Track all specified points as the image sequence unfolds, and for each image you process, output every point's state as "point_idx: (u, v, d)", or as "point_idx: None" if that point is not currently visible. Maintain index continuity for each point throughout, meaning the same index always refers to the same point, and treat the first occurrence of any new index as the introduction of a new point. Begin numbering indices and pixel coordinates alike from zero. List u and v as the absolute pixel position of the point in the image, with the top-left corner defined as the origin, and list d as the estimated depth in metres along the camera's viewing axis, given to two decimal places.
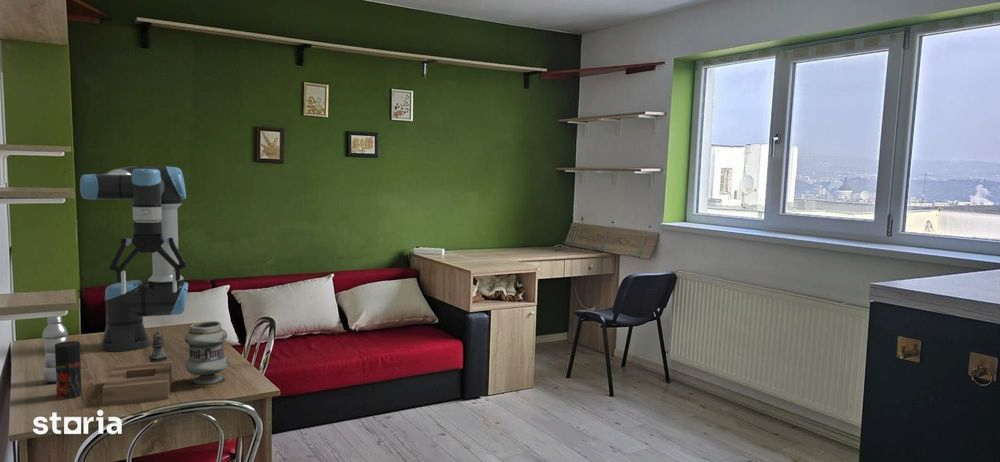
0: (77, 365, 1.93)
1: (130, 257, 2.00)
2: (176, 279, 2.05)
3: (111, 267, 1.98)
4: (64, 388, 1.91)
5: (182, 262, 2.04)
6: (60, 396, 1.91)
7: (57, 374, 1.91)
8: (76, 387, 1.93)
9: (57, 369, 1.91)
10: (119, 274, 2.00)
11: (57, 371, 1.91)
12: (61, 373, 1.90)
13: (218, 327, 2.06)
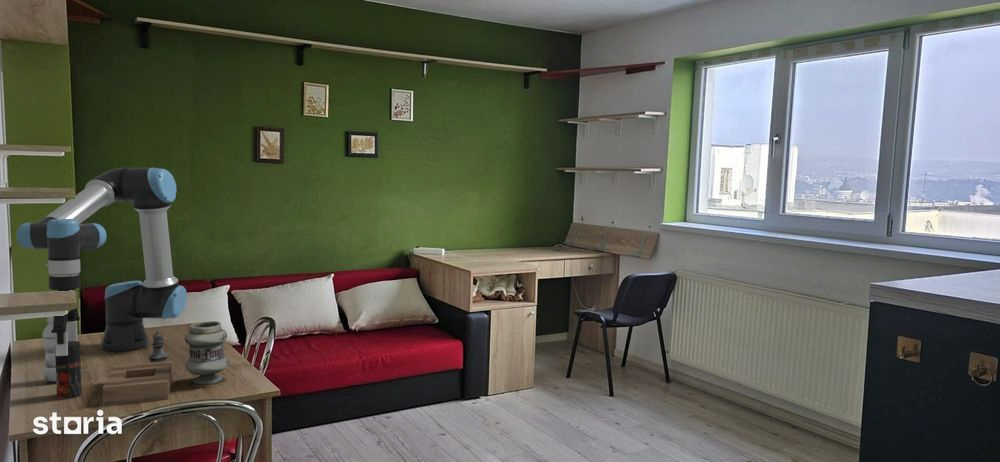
0: (77, 365, 1.93)
1: None
2: None
3: None
4: (64, 388, 1.91)
5: None
6: (60, 396, 1.91)
7: (57, 374, 1.91)
8: (76, 387, 1.93)
9: (57, 369, 1.91)
10: None
11: (57, 371, 1.91)
12: (61, 373, 1.90)
13: (218, 327, 2.06)
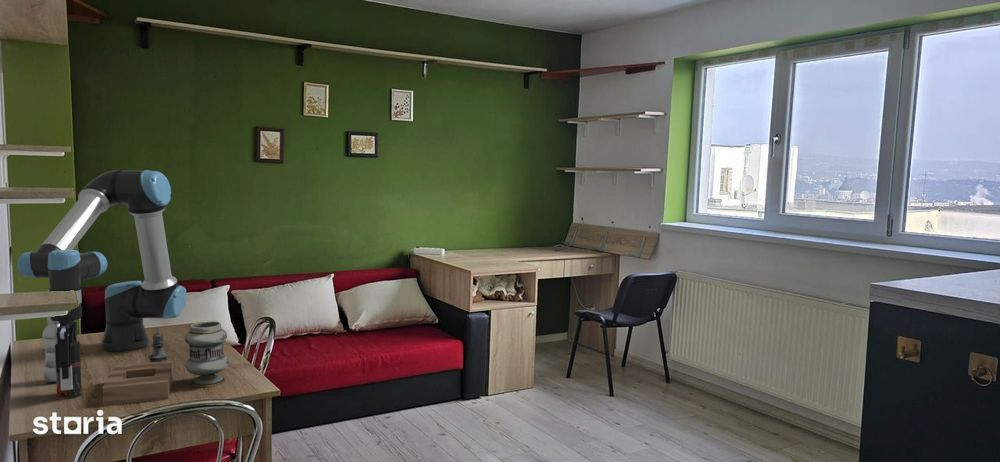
0: (77, 365, 1.93)
1: None
2: None
3: None
4: None
5: (58, 361, 1.87)
6: (60, 396, 1.91)
7: (57, 374, 1.91)
8: (76, 387, 1.93)
9: (57, 369, 1.91)
10: None
11: (57, 371, 1.91)
12: None
13: (218, 327, 2.06)
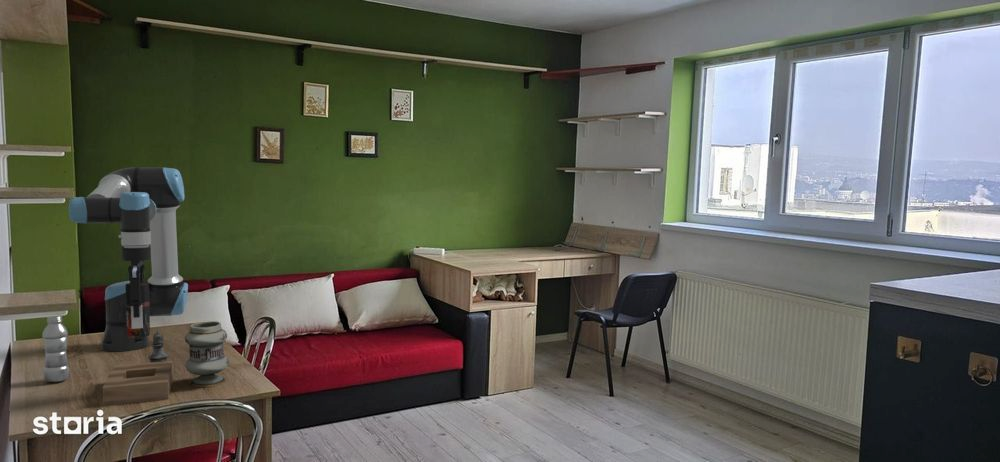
0: (147, 305, 1.97)
1: None
2: (133, 315, 1.94)
3: None
4: None
5: (130, 299, 1.91)
6: (130, 335, 1.95)
7: (128, 313, 1.95)
8: (145, 326, 1.97)
9: (128, 308, 1.95)
10: None
11: (128, 310, 1.95)
12: None
13: (218, 327, 2.06)
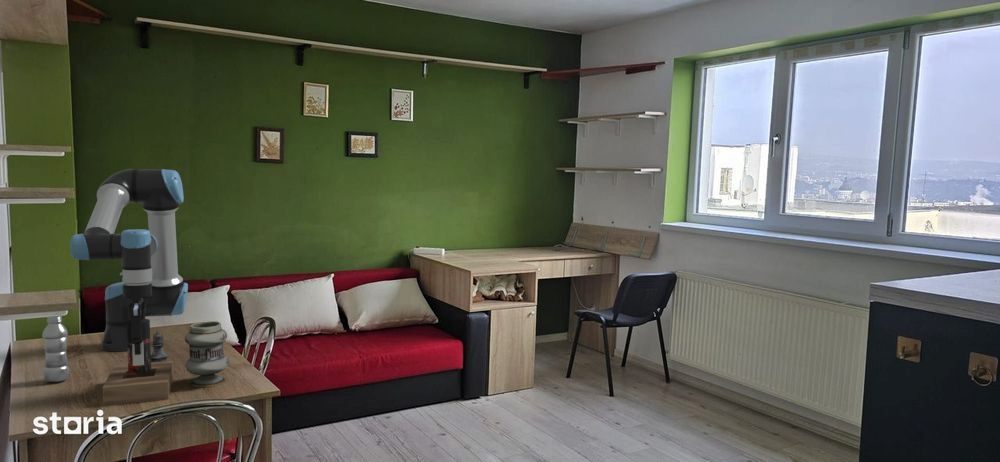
0: (148, 342, 1.98)
1: None
2: (134, 353, 1.95)
3: None
4: None
5: None
6: (131, 371, 1.96)
7: (129, 350, 1.96)
8: (146, 363, 1.98)
9: (129, 345, 1.96)
10: None
11: (129, 347, 1.96)
12: None
13: (218, 327, 2.06)
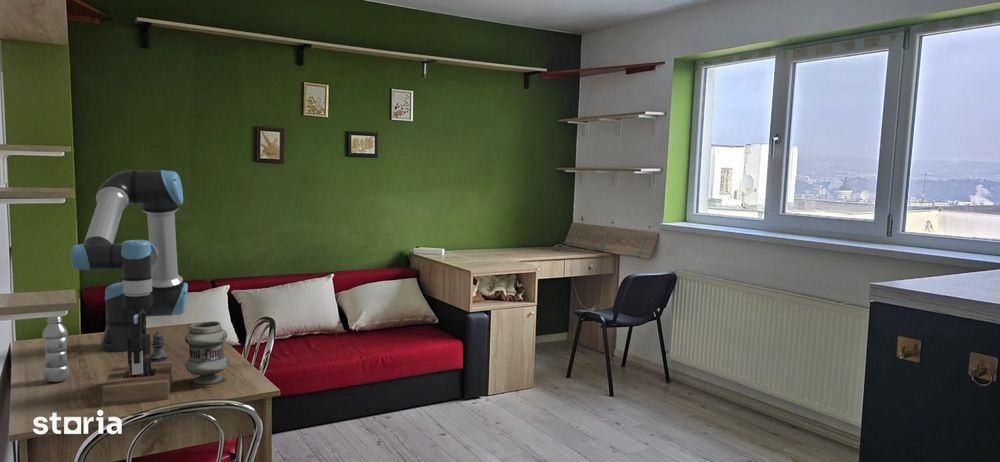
0: (148, 357, 1.99)
1: None
2: (133, 361, 1.93)
3: None
4: None
5: None
6: None
7: (129, 365, 1.97)
8: None
9: (129, 360, 1.96)
10: None
11: (129, 362, 1.97)
12: None
13: (218, 327, 2.06)
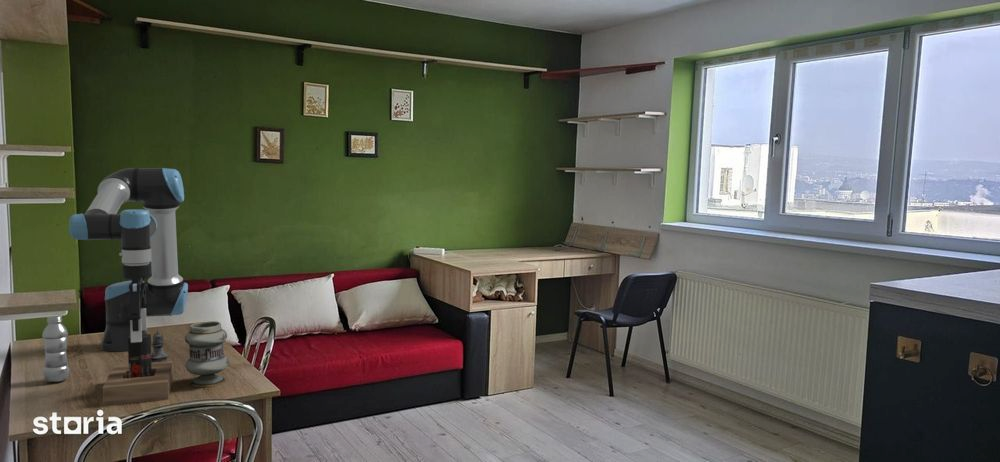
0: (149, 357, 1.99)
1: None
2: (132, 329, 1.91)
3: None
4: None
5: None
6: None
7: (130, 365, 1.97)
8: None
9: (130, 360, 1.96)
10: None
11: (130, 362, 1.97)
12: (134, 364, 1.96)
13: (218, 327, 2.06)
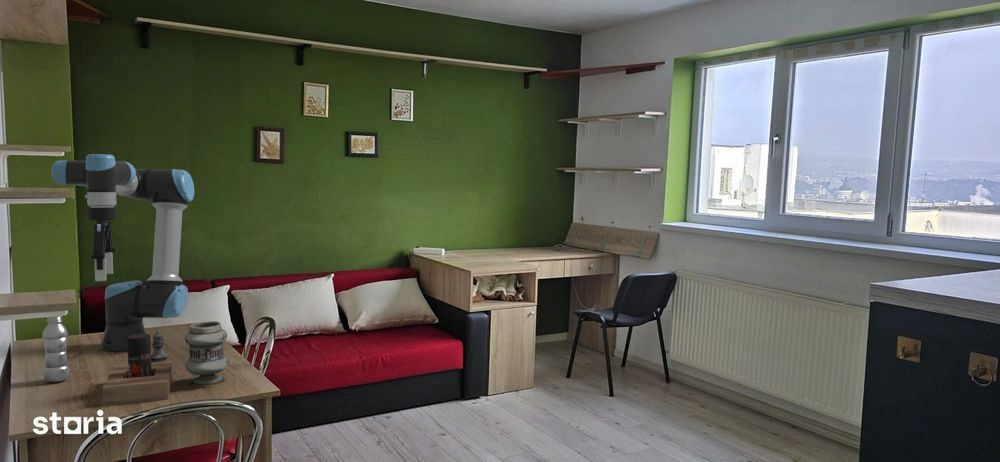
0: (148, 357, 1.99)
1: None
2: (96, 268, 1.98)
3: None
4: None
5: None
6: None
7: (130, 365, 1.97)
8: None
9: (130, 360, 1.96)
10: (104, 254, 2.11)
11: (130, 362, 1.97)
12: (134, 364, 1.96)
13: (218, 327, 2.06)
